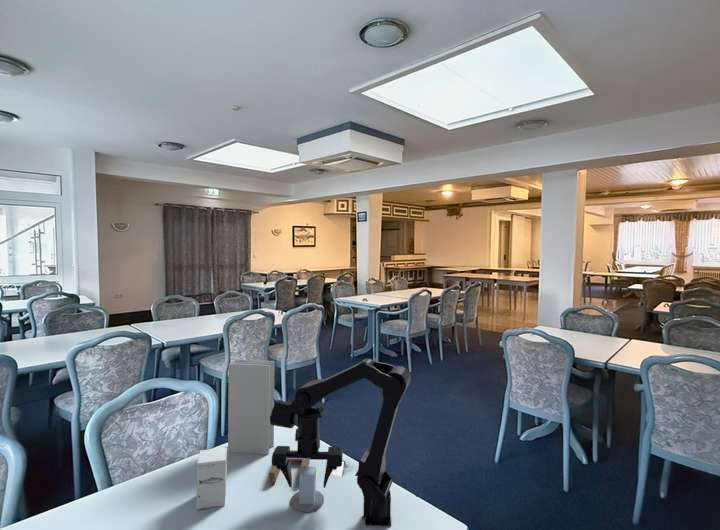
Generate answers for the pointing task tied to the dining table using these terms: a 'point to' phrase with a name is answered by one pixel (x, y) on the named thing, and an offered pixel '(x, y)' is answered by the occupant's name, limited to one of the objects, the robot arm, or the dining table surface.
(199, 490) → the supplement box
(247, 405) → the tall grey box
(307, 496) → the block
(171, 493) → the dining table surface
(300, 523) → the dining table surface
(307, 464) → the frame
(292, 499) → the coaster
